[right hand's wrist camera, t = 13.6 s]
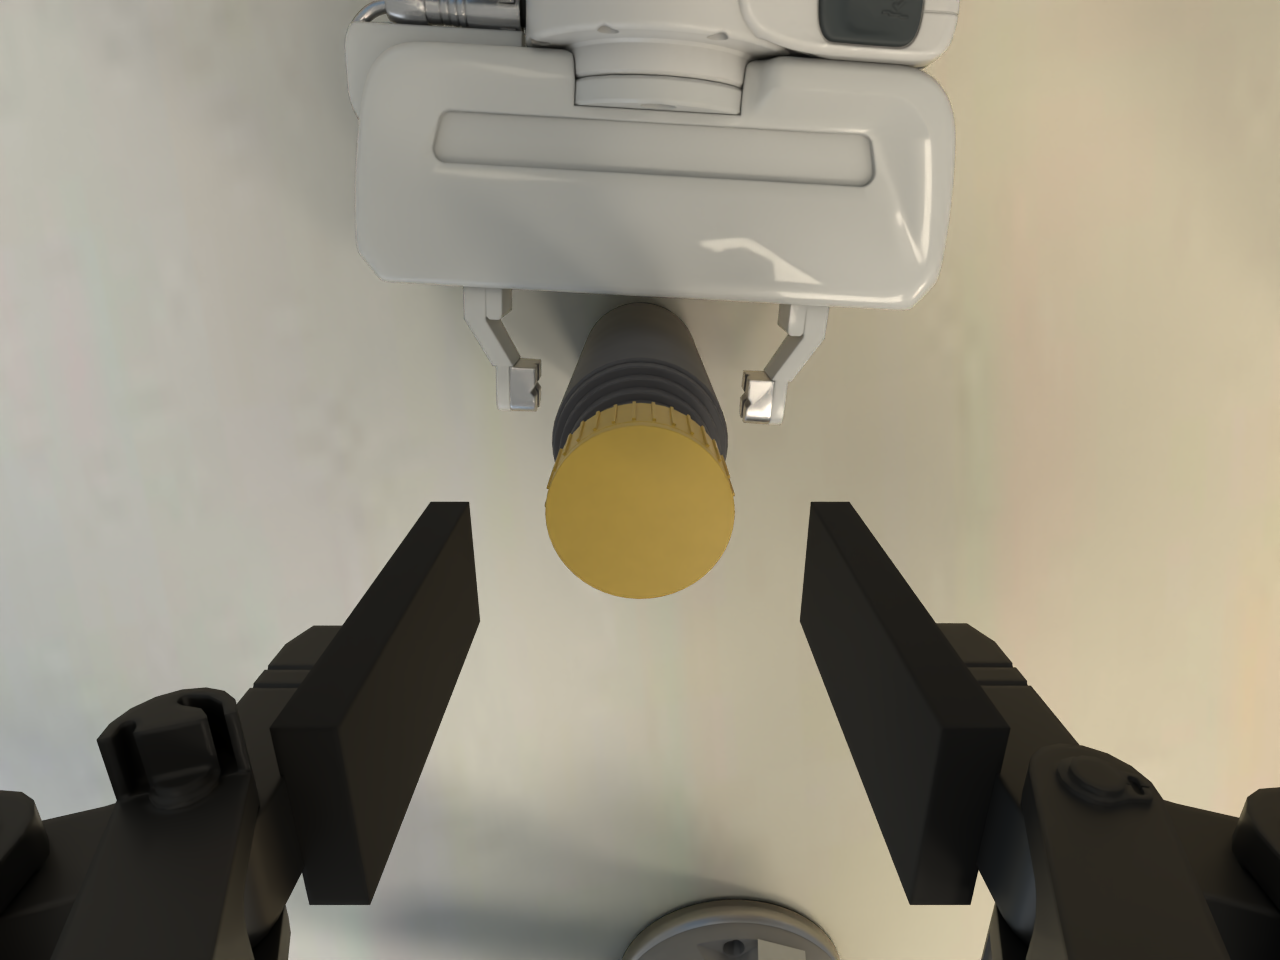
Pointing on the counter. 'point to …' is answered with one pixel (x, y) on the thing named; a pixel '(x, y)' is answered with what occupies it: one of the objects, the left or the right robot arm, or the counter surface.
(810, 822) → the counter surface
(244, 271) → the counter surface
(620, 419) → the cap
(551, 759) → the counter surface
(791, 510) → the counter surface
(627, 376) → the bottle
